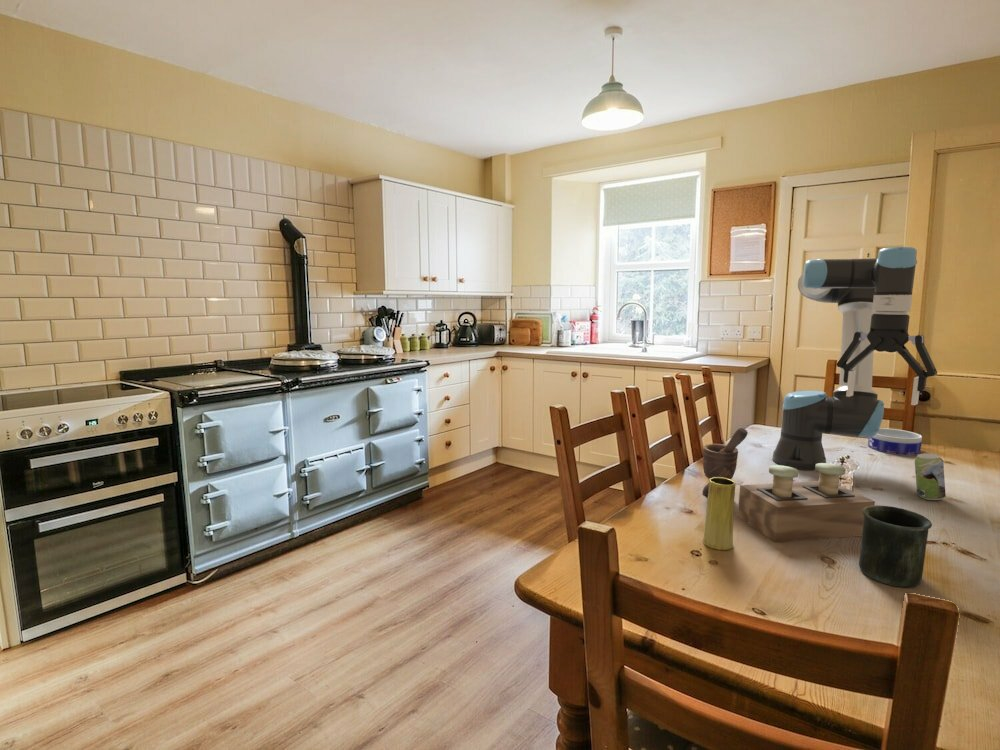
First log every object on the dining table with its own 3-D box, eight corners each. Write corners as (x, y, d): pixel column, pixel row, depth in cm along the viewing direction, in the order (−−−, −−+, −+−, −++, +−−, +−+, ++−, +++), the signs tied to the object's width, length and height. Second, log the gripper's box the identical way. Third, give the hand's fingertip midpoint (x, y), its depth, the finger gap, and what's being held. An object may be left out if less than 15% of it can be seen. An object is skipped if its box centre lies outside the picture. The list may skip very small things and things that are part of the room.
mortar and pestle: (751, 498, 146) (756, 424, 144) (738, 506, 140) (744, 430, 137) (708, 487, 154) (713, 417, 151) (695, 495, 148) (699, 422, 145)
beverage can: (950, 503, 143) (955, 459, 142) (918, 501, 145) (923, 457, 143) (936, 495, 150) (941, 452, 148) (905, 492, 151) (911, 450, 149)
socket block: (737, 516, 134) (740, 484, 133) (825, 511, 138) (828, 479, 137) (775, 542, 120) (778, 505, 119) (871, 535, 124) (875, 500, 123)
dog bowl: (857, 444, 201) (858, 428, 200) (895, 443, 203) (897, 427, 202) (890, 456, 186) (892, 439, 185) (931, 455, 188) (934, 438, 187)
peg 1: (761, 498, 130) (763, 465, 129) (784, 497, 131) (786, 464, 129) (777, 508, 124) (780, 474, 123) (801, 506, 125) (804, 472, 124)
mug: (854, 578, 105) (860, 518, 103) (858, 550, 117) (864, 496, 115) (925, 596, 99) (933, 533, 97) (922, 564, 111) (929, 508, 109)
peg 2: (806, 495, 132) (809, 463, 130) (828, 494, 133) (832, 462, 131) (825, 505, 126) (828, 471, 125) (848, 503, 127) (851, 470, 126)
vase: (730, 553, 115) (735, 487, 113) (699, 546, 118) (704, 482, 116) (735, 542, 120) (739, 479, 118) (706, 535, 123) (710, 474, 121)
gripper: (827, 311, 139) (819, 394, 142) (953, 315, 120) (940, 410, 123) (838, 311, 144) (830, 390, 147) (960, 314, 125) (948, 406, 128)
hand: (880, 400), depth 135 cm, fingers open, 13 cm apart
